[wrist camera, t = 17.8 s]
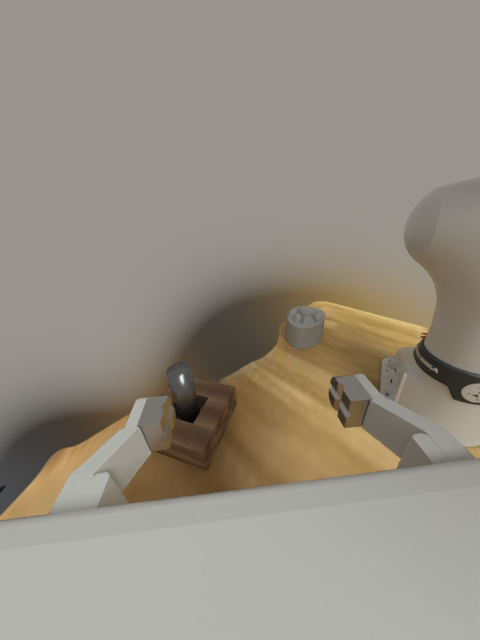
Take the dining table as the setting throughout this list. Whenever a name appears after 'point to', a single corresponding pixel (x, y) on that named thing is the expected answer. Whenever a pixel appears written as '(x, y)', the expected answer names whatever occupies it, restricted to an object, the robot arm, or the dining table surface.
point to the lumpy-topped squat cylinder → (304, 327)
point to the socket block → (201, 424)
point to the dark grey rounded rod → (183, 391)
